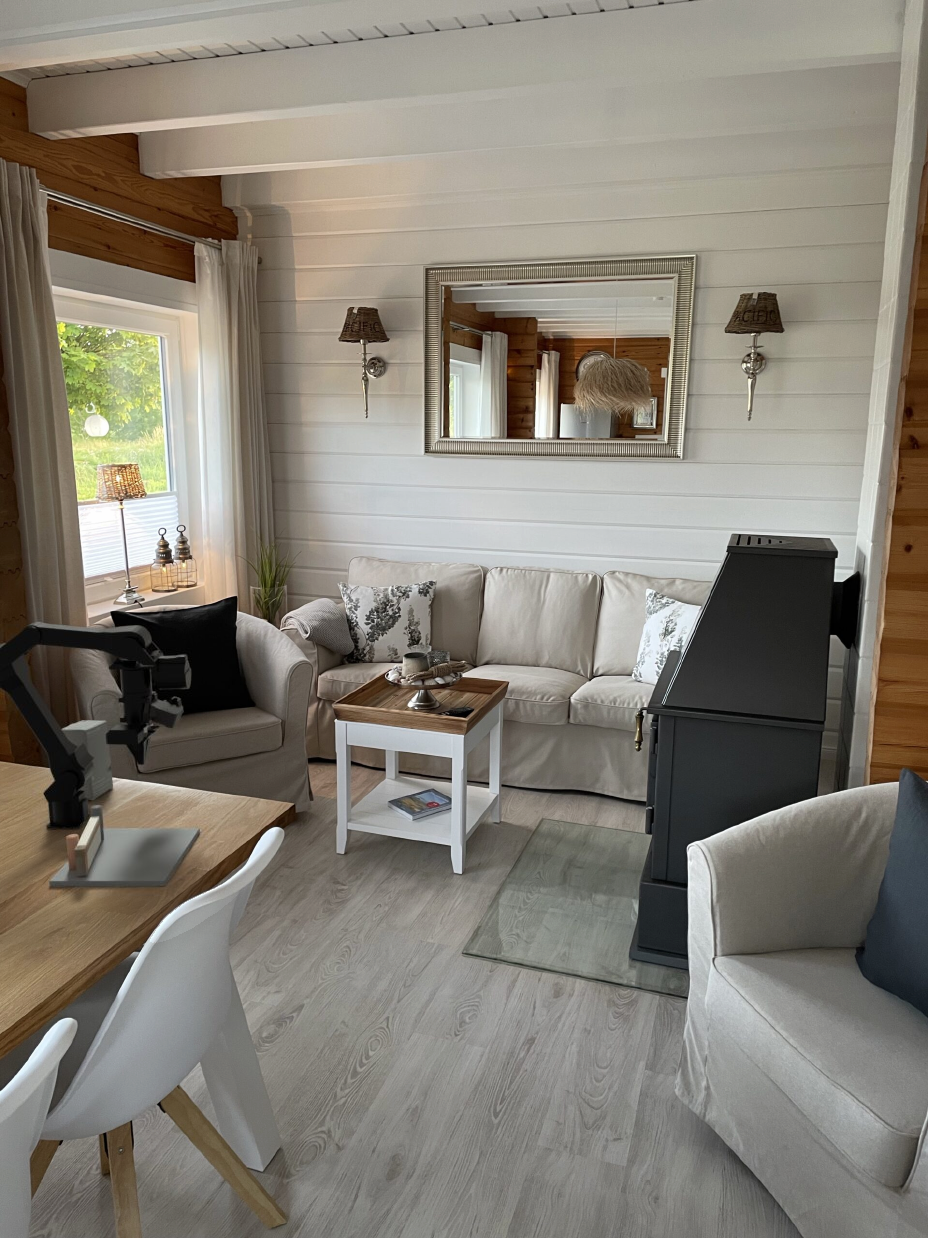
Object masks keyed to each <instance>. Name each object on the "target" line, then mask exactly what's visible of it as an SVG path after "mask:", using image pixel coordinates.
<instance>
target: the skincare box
mask: <svg viewBox="0 0 928 1238" xmlns="http://www.w3.org/2000/svg"><path fill="white" fill-rule="evenodd" d="M61 729H62V731H63V732H64V734H65V735H66V737H67V739H68V740H69V741H70V742H72V743H73V744H75V745H76V746H79V745H80V744H82V743H84V745H85V746H86V749H87V751H88V753H89V754H90V755H91V756H92V757H94V759H93V761H92V762H93V764H94V770H93V774H92V775H91V777H90V778H89V779H88V780H87V781H86V783H85V784H84V786H83V787H82V788H81V789H80V790H81V791H85V798H87V799H88V801H89V800H90V801H95V800H96V799H97V798H99V797H100V796H101V795H103V794H105V793H106V792H108V791H109V790H111V789H113V788H114V780H113V771H112V763H111V762H112V760H111V751H110V744H106V733H107V732H108V731H109V730H108V720H93V719H92V720H91V719H90V720H89V719H88V720H87V719H85V720H83V719H82V720H80V721H77V722H75V723H74V722H73V723H71V724H69V725H68V726H65V727H63V728H61Z"/></svg>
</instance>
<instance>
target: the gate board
mask: <svg viewBox="0 0 928 1238" xmlns="http://www.w3.org/2000/svg"><path fill="white" fill-rule="evenodd" d="M93 816H99V818H100V832H101V842H100V845H99V847H98V849H97V852H96V854H95V856H94V859H93V861H92V863H91V866H90V868H89V872H88V874H87V876H76V865H75V853H74V849H75V847H76V846H77V844H78V842H79V840H80V838H79V834H76V833H74V834H73V833H72V834H69V835H66V837H65V838H66V848H67V850H66V851H67V859H68V860H67V861H66V862H65V863H64V865H62V867H61V868H60V869H59V870H58V871H57V872H56V873H55V874H54V875H53V876H52V877H51V879H49V887H165V886H166V885H167V884H168V882H169V880H171V877H172V876H173V874H174V873H175V871H176V870H177V869H178V867H179V865H180V864H181V862H182V861H183V860H184V857H185V856H186V855H187V853H188V852H189V850H190V848H192V845H193V844H194V843H195V841H196V840H197V838H198V837H199V835H200V833H201V831H200V827H196V828H195V827H190V828H189V827H180V828H177V827H175V828H173V827H166V828H165V827H162V828H161V827H147V828H146V827H144V828H142V827H141V828H140V827H131V828H128V827H127V828H126V827H125V828H123V827H121V828H119V827H116V828H115V827H113V828H112V827H107V828H106V827H104V820H103V818H104V817H103V807H102V805H100V804H98V805H97V804H96V805H93V806H91V807H90V817H93Z"/></svg>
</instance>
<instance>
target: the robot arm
mask: <svg viewBox="0 0 928 1238" xmlns="http://www.w3.org/2000/svg"><path fill="white" fill-rule="evenodd" d="M152 640H153V639H152V636H151V633H150V632H149V630H148V629H147V628H146V627H144V626H142V625H125V626H124V625H123V626H116V627H109V628H108V627H106V628H97V627H86V626H85V627H84V626H78V625H77V626H74V625H64V624H54V623H44V622H42V621H34V622H32V623H31V624H28V625H26V626H25V627H24V628H23V629H22V631H21V632H18V633H17V634H16V635H15V636H14V637H12V638H11V639H10V640H8V642H4V643H0V689H1V690H2V691H3V692H5V693H6V694H7V695H8V696H9V697H10V699H11V701H12V702H13V704H14V705H15V706H16V708H17V709H18V711H19V713H20V714H21V716H22V717H23V719H24V721H25V723H27V725H28V726H29V728H30V730H31V731H32V733H33V734H34V736H35V738H36V739H37V741H39V744H40V745H41V747H42V748H43V750H44V751H45V753H46V755H47V760H48V764H49V771H50V773H51V775H52V777H53V780H54V781H53V782H52V783H51V784H49V786H48V787H47V788H46V789H45V790H44V791H43V792H42V793H43V796H44V798H45V799H46V802H47V806H48V817H49V823H47V824H46V827H45V828H46V829H78V828H80V827H81V826H82V825H83V824H84V823H85V822H86V821H87V820H88V819H90V817H91V813H90V810H89V800H88V799H87V798H85V791H81V790H80V789H81V788H82V787H83V786H84V784H85V783H86V781H87V780H88V779H89V778H90V777H91V775H92V774H93V770H94V764H93V762H92V761H93V759H94V757H92V756H91V755H90V754H89V753H88V751H87V749H86V746H85V745H84V743H82V744H80V745H79V746H76V745H75V744H73V743H72V742H70V741H69V740H68V739H67V737H66V735H65V734H64V732H63V731H62V729H63V728H61V725H60V724H59V723H58V722H57V720H56V718H55V717H54V715H53V714H52V712H51V710H50V709H49V708H48V706H47V704H46V702H45V701H44V699H43V698H42V696H41V694H39V692H38V690H37V688H35V685H34V684H33V683H32V680H31V676H30V675H31V674H30V670H29V665H28V662H27V660H26V657H25V656H26V655H28V654H29V653H30V652H31V651H33V649H35V648H36V646H38V645H39V646H51V647H61V648H69V649H70V648H73V649H83V650H94V651H99V652H103V653H104V654H105V653H106V654H107V655H110V656H112V657H115V660H114V661H113V663H112V664H110V665H109V666H108V670H111V671H114V670H116V671H117V670H119V672H120V673H119V674H120V685H121V687H120V688H121V695H120V696H118V703H120V704H122V716H120V717H119V723H122V724H116V725H115V726H113V727H112V728H111V729H109V730H108V732H107V733H106V744H109V745H114V746H115V745H119V746H121V745H125V746H126V747H127V748H128V750H129V753H130V754H131V755H132V756H133V758H134V760H135V761H136V763H137V764H138V765H140V766H144V764H146V760H147V757H148V756H147V755H148V752H149V747H150V742H151V739H152V736H153V735H154V734H155V733H156V732H157V731H158V730H159V729H160V727H161V726H160V725H163V726H164V727H165V728H168V729H174V728H175V726H176V725H178V724H179V722H180V721H181V716H182V714H183V713H184V712H185V711H184V706H183V704H182V699H181V698H180V697H177V696H173V697H171V698H170V699H169V700H166V699H164V700H160V699H158V693H157V691H153V685H154V686H155V688H158V689H159V690H187V689H188V690H189V689H190V687H191V682H192V668H191V666H190V663H189V662H190V661H189V660H188V655H187V654H177V655H164V653H163V651H161V649H160V648H159V647H158V645H156V643H154V642H153V641H152ZM123 723H124V724H123ZM125 723H126V724H125ZM154 723H156V724H160V725H154Z"/></svg>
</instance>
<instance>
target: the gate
mask: <svg viewBox="0 0 928 1238" xmlns="http://www.w3.org/2000/svg"><path fill="white" fill-rule="evenodd" d="M88 819H89V820H88V821H87V824H86V826H85V828H84V830H83V832H82V834H81V836H80V838H79V842H78V844H77V846H76V847H75V849H74V853H75V865H76V876H87V874H88V872H89V868H90V866H91V863H92V861H93V859H94V856H95V854H96V852H97V849H98V847H99V845H100V842H101V832H100V818H99V816H93V817H91V816H90V817H89V818H88Z"/></svg>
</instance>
